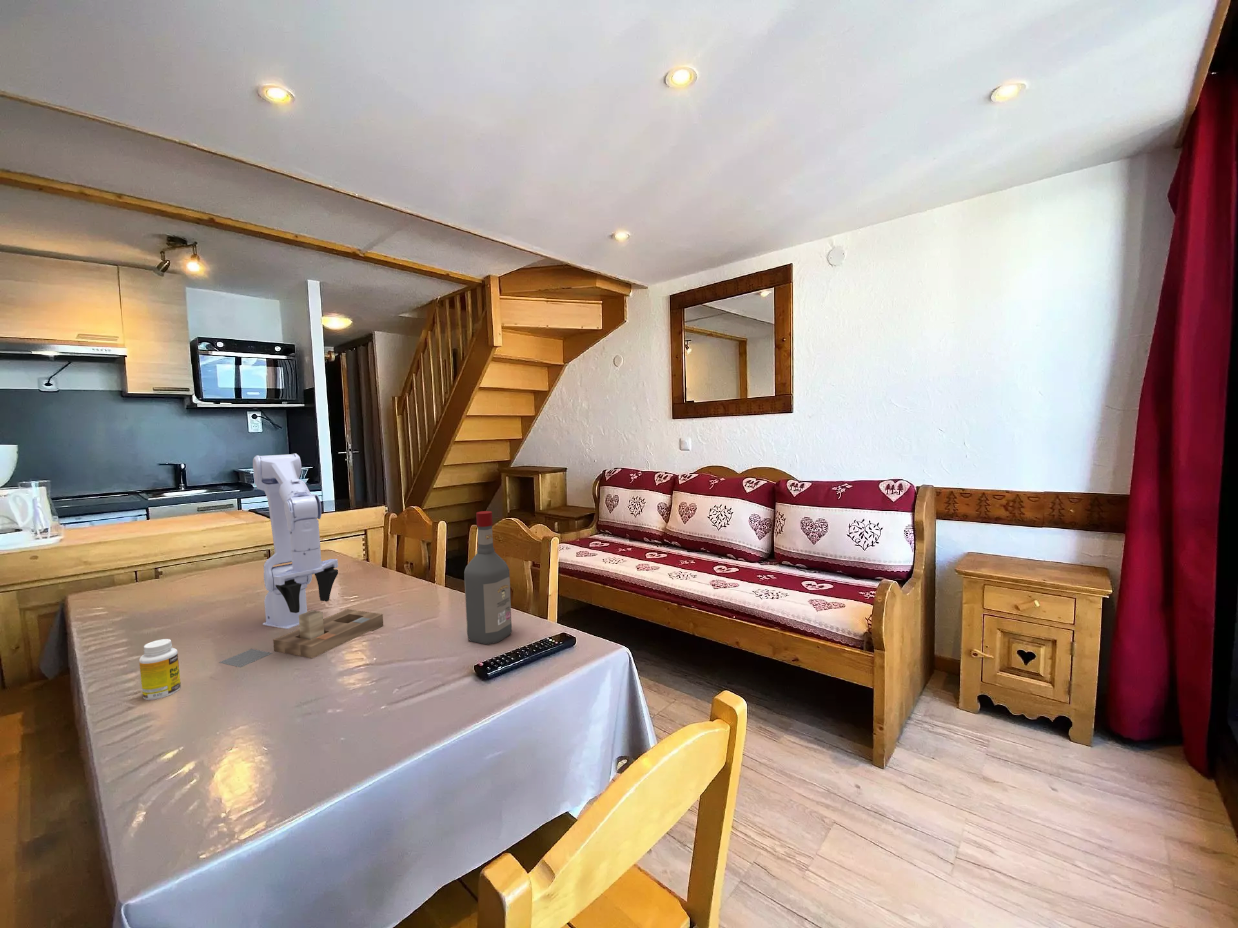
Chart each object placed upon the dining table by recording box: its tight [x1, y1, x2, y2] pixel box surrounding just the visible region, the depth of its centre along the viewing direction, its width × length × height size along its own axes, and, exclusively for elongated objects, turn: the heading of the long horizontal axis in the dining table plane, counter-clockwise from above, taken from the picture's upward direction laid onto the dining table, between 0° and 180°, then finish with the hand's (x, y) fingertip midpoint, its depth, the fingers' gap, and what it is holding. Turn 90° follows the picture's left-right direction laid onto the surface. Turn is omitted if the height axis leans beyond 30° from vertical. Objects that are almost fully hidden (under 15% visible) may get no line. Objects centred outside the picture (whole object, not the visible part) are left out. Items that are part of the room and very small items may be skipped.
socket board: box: [272, 608, 384, 659], centre depth 125 cm, size 12×20×3 cm, turn 159°
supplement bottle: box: [138, 638, 182, 701], centre depth 100 cm, size 6×6×10 cm
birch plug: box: [298, 609, 324, 640], centre depth 120 cm, size 3×3×8 cm
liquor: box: [463, 510, 513, 645], centre depth 123 cm, size 9×9×30 cm
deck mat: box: [218, 648, 273, 668], centre depth 114 cm, size 7×7×1 cm
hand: (310, 606), depth 119 cm, fingers open, 7 cm apart
